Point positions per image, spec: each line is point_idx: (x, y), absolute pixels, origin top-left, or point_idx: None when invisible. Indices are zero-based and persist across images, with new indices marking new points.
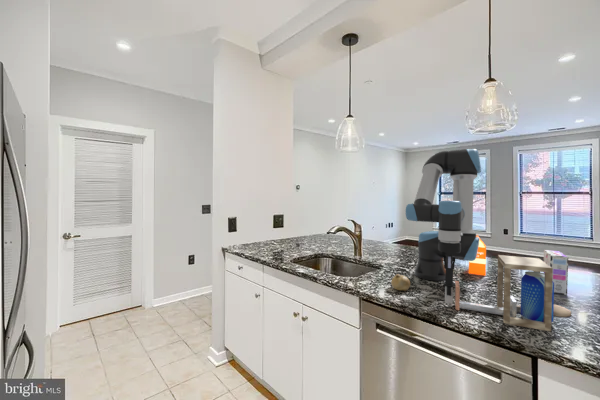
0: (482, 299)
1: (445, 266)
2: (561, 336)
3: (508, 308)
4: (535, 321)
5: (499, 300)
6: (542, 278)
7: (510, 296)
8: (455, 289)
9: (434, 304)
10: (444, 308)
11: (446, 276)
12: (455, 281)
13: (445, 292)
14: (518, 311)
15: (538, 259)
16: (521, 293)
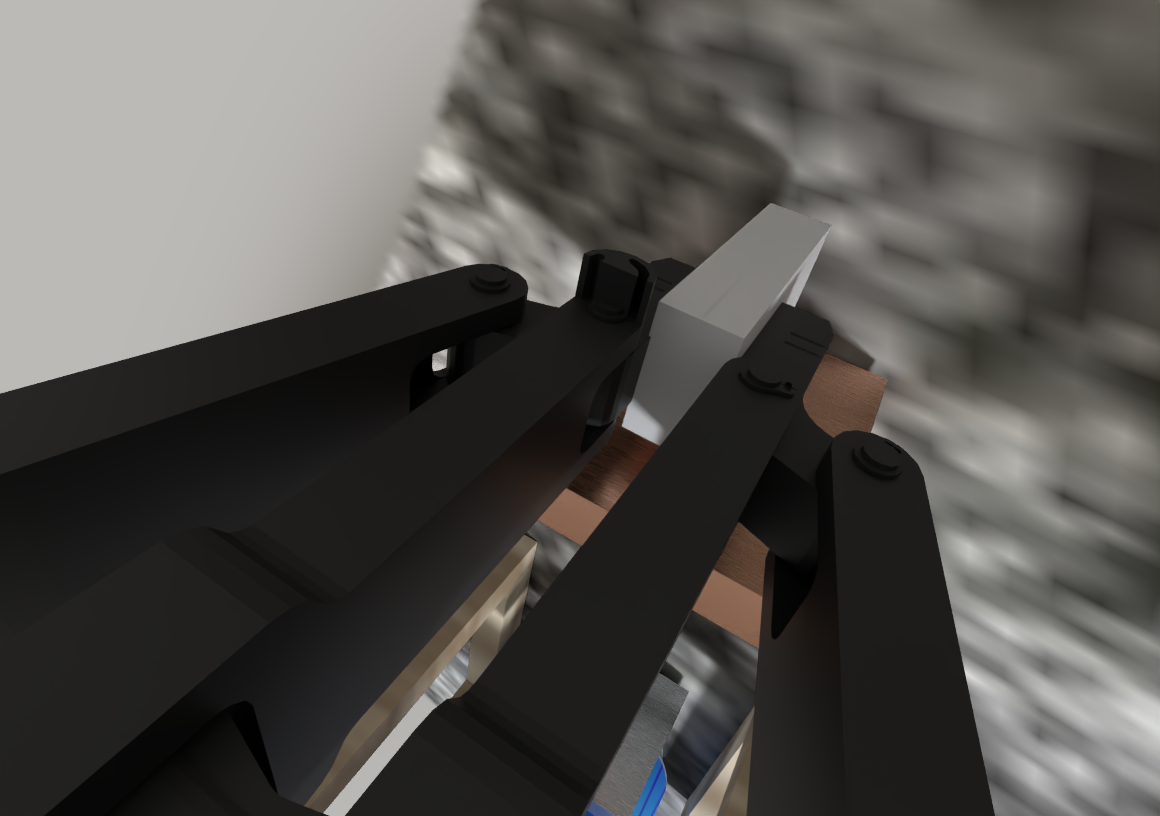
0: (1066, 765)
1: (128, 603)
2: (453, 658)
3: None
4: (482, 667)
5: (741, 761)
6: None
7: (608, 814)
8: (648, 442)
9: (864, 34)
10: (715, 160)
11: (240, 348)
12: (748, 591)
13: (709, 264)
14: (721, 756)
15: None
16: None
